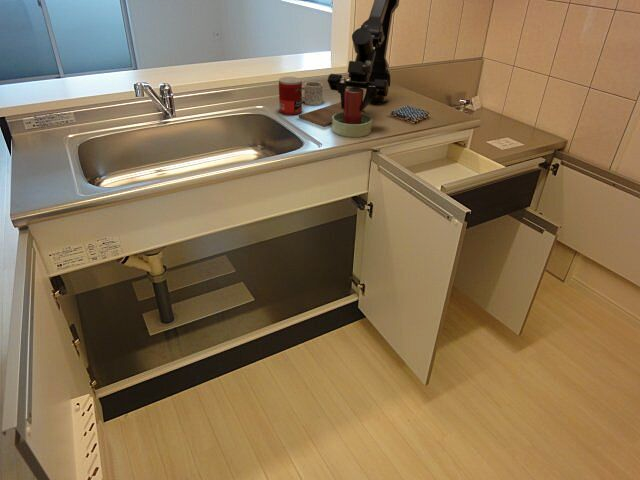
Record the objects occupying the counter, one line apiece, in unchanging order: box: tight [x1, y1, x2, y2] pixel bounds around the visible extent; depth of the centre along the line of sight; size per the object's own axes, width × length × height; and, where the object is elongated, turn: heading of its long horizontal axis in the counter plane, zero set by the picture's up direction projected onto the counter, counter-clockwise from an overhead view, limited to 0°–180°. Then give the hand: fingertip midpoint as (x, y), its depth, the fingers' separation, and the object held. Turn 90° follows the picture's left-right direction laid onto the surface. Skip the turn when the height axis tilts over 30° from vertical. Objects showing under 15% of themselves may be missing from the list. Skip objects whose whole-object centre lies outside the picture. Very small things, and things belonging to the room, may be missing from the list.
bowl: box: [331, 112, 373, 138], centre depth 140 cm, size 13×13×4 cm
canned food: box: [278, 76, 303, 116], centre depth 152 cm, size 8×8×11 cm
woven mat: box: [389, 105, 430, 124], centre depth 153 cm, size 10×11×2 cm
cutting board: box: [298, 101, 366, 128], centre depth 152 cm, size 21×12×2 cm, turn 136°
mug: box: [302, 81, 324, 106], centre depth 162 cm, size 10×7×7 cm
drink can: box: [343, 87, 365, 125], centre depth 137 cm, size 6×6×12 cm
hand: (351, 109), depth 136 cm, fingers closed on drink can, 6 cm apart
